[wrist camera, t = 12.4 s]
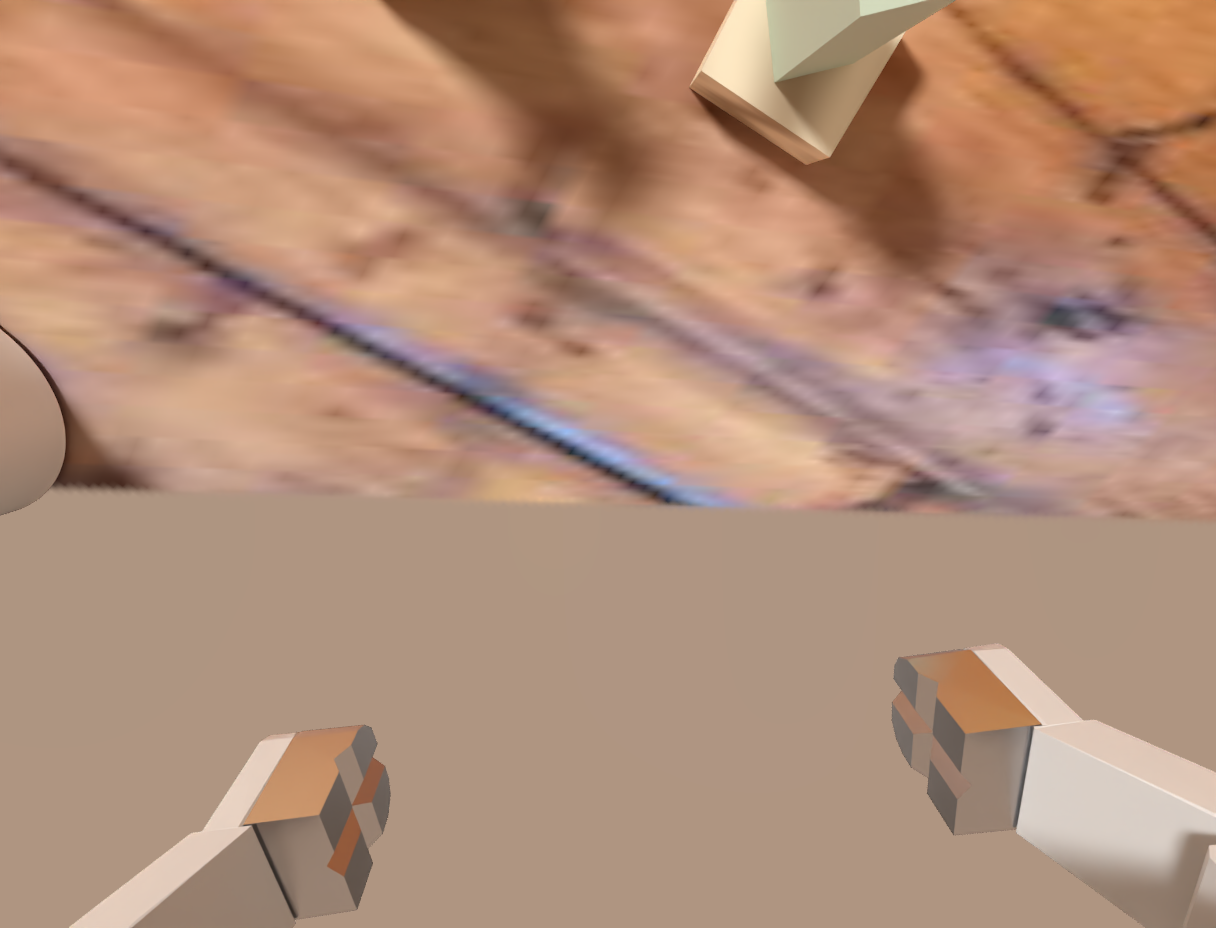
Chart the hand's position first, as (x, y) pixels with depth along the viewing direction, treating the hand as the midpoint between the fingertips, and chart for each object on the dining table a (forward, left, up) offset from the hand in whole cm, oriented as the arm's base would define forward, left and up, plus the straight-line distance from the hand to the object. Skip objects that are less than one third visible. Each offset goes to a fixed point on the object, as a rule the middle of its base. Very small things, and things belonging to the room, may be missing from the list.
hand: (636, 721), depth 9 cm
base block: (+5, +19, -32) cm, 37 cm away
